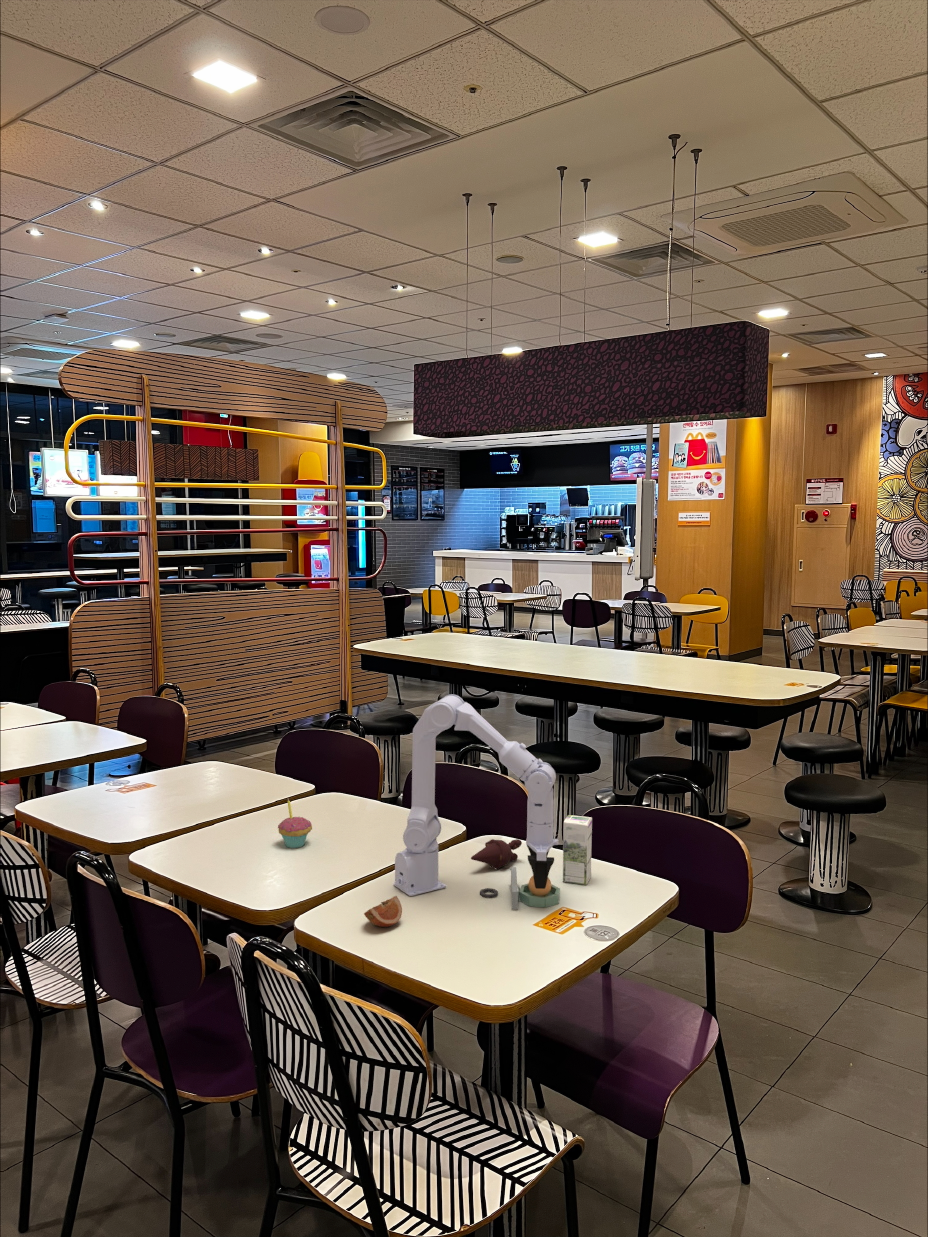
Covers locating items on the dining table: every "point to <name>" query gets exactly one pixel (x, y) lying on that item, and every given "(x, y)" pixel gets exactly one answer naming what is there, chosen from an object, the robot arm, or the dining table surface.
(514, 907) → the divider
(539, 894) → the ball
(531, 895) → the dish
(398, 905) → the fruit slice
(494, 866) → the icecream
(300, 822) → the cupcake
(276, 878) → the dining table surface
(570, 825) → the syrup box
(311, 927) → the dining table surface
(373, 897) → the dining table surface
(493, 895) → the ring
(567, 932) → the dining table surface
